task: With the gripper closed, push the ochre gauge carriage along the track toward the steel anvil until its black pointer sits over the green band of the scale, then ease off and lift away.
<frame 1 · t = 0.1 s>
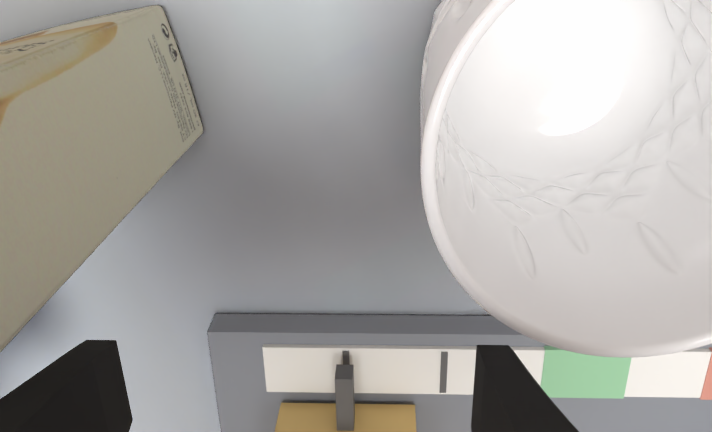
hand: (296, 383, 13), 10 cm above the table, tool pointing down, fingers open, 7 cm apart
skincare box: (97, 89, 21), on the table
white cup: (533, 52, 20), on the table
gauge track: (499, 431, 26), on the table
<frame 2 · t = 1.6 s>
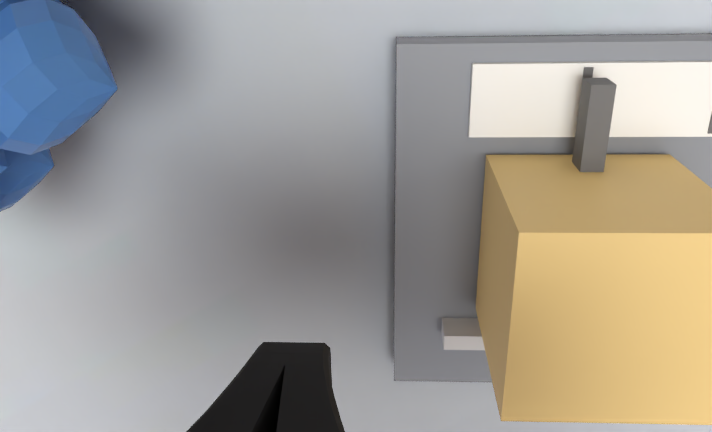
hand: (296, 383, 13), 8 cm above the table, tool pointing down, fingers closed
grapes: (83, 21, 19), on the table
carriage: (597, 239, 16), point 4 cm above the table, slide at 0.0 cm
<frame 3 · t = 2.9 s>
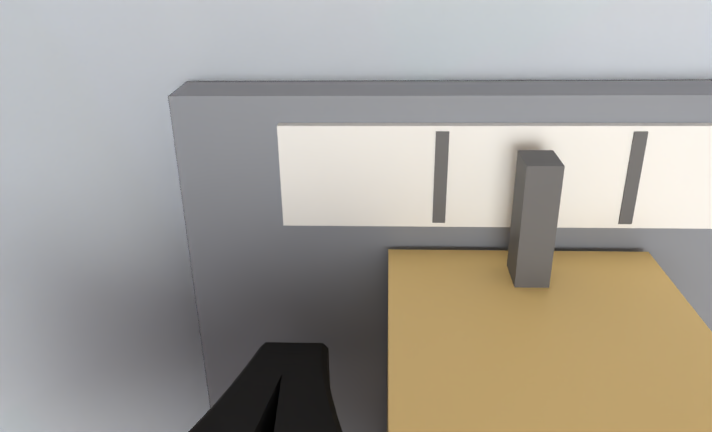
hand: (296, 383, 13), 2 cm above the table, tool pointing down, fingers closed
gauge track: (694, 321, 15), on the table
carriage: (536, 392, 11), point 4 cm above the table, slide at 1.6 cm, touching gripper
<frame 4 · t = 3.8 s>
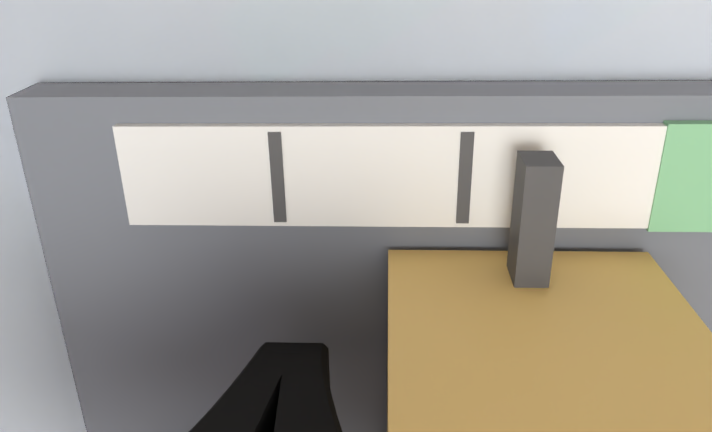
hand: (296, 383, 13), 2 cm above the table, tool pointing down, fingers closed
gauge track: (558, 319, 15), on the table
carriage: (536, 392, 11), point 4 cm above the table, slide at 4.6 cm, touching gripper
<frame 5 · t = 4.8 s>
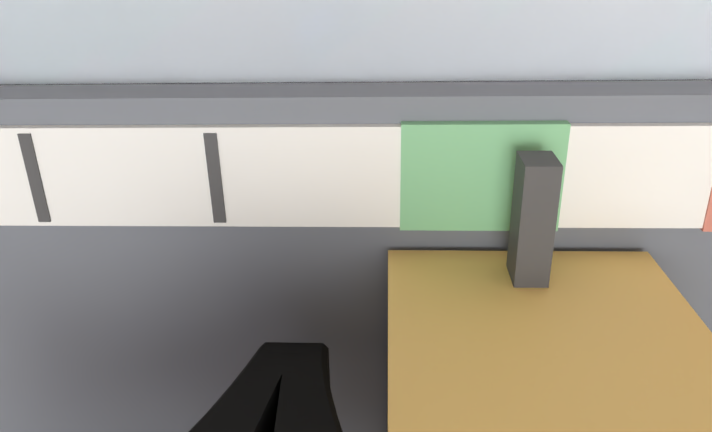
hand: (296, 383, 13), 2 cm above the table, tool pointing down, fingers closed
gauge track: (354, 317, 15), on the table
carriage: (536, 392, 11), point 4 cm above the table, slide at 9.3 cm, touching gripper
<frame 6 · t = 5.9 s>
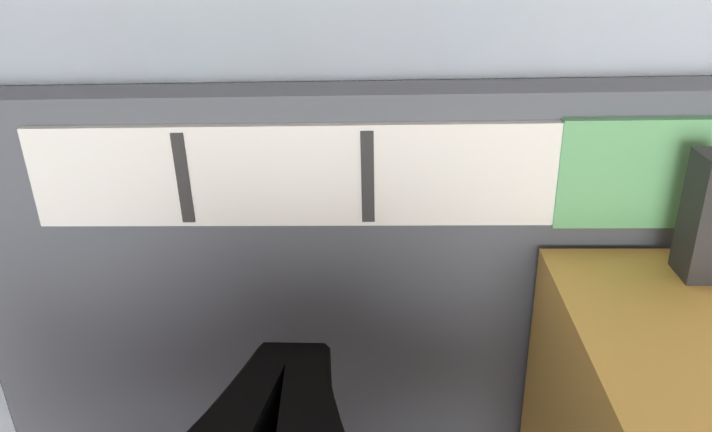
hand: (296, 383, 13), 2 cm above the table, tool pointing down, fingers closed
gauge track: (480, 317, 15), on the table
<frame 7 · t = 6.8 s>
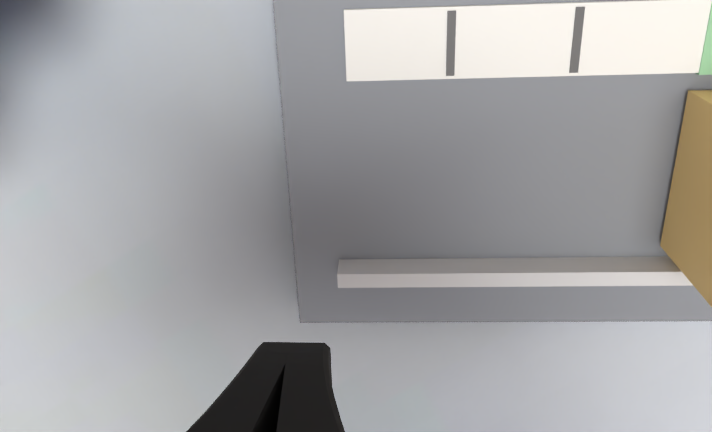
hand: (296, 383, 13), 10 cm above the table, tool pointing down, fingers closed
gauge track: (630, 157, 21), on the table
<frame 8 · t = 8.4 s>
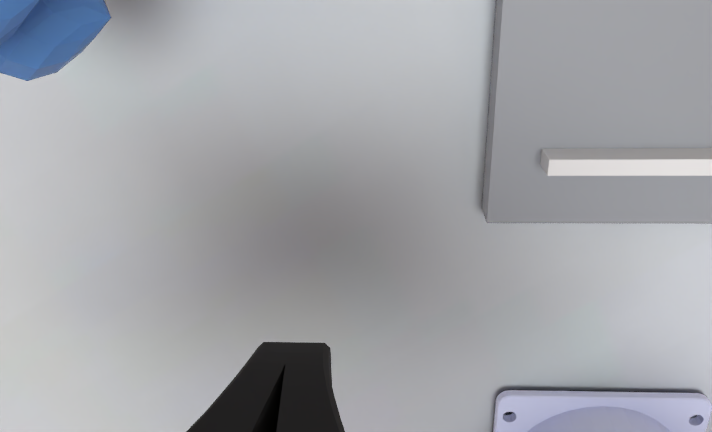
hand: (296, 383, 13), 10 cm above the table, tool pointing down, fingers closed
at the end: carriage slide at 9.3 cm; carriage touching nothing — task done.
